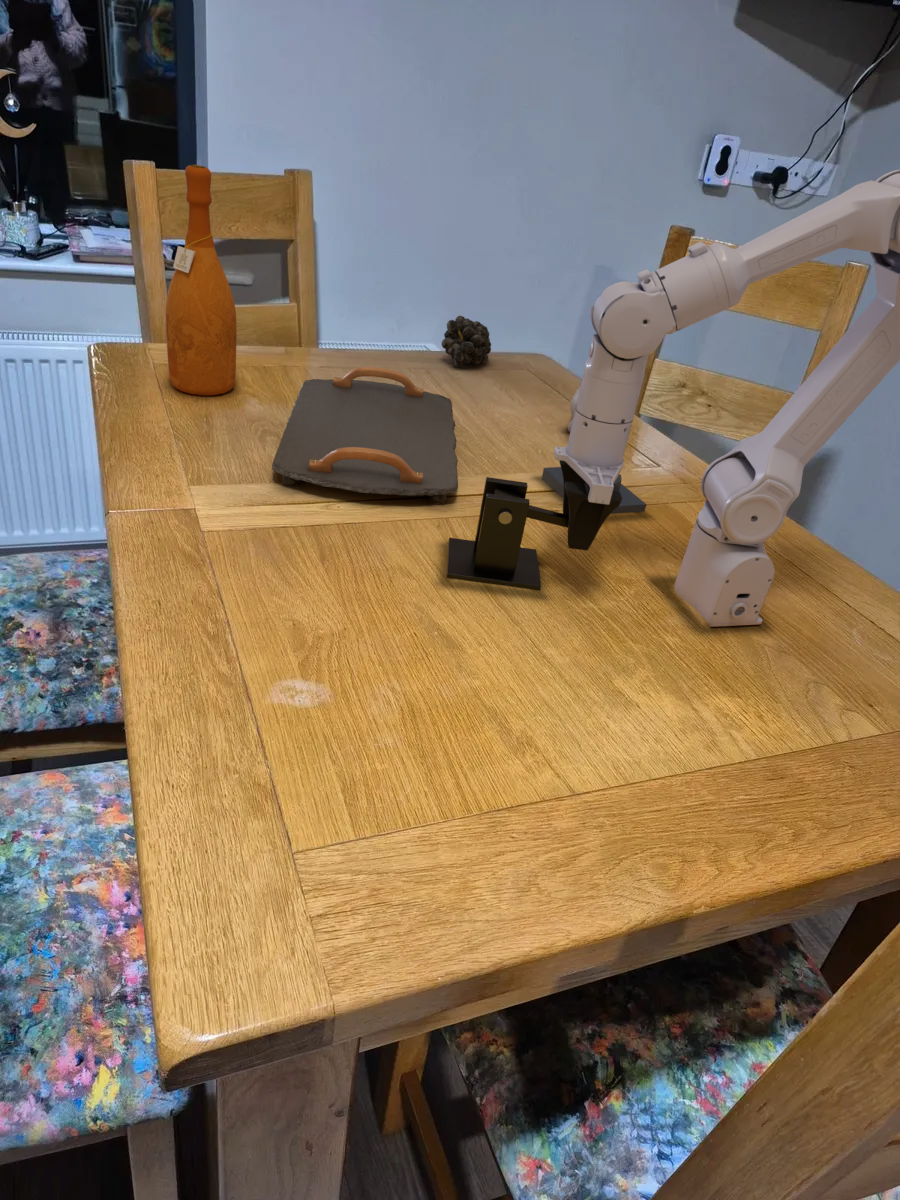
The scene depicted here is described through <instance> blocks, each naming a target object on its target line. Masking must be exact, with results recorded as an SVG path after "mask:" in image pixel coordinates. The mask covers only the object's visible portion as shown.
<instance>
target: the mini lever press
mask: <svg viewBox="0 0 900 1200" xmlns="http://www.w3.org/2000/svg"><path fill="white" fill-rule="evenodd" d="M528 487H529V486H528V482H524V481H517V480H511V479H504V478H503V479H502V478H496V477H489V476H486V478H485V482H484V488H483V494H482V498H481V499H482V500H481V505H480V510H479V516H478V520H477V528H476V533H475V538H474V540H470V539H463V538H456V537H448V543H447V545H448V547H447V559H446V560H447V562H446V563H447V564H446V579H451V580H460V581H464V582H465V581H466V582H473V583H481V584H488V585H496V586H503V587H508V588H509V587H510V588H518V589H524V590H533V591H541V588H542V583H541V576H540V568H539V559H538V551H537V549H535V548H528V547H521V545H522V542H523V536H524V532H525V527H526V522H527V519H528V518H527V513H528V509H529V505H530V504H531V503H530V499H529V498H526V496H527V492H528ZM495 488H498V489H502V490H506V491H509V492H513V493H517V494H520V498H517V497H510V496H503V495H496V494H493V492H494V489H495Z"/></svg>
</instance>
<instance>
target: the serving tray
mask: <svg viewBox="0 0 900 1200" xmlns="http://www.w3.org/2000/svg"><path fill="white" fill-rule="evenodd" d="M360 377H375V378H380V379H381V378H382V379H388V380H391V381H395V382H398V383H400V384H402V385H398V384H393V383H387V382H378V381H373V380H370V381H369V380H358V379H357V378H360ZM455 429H456V421H455V419H454V414H453V401H452V399H451V398H449V397H446V396H444V395H441V394H437V393H432V392H428V391H425V390H424V388H420V387H417V386H416V385H415V384H414V382H412V379H410V378H409V377H408V376H407V375H405V374H404V373H402V372H399V371H397V370H394V369H390V368H385V367H384V368H383V367H376V366H361V367H356V368H353V369H352V370H350V371H349V372H347V373H346V374H345V375H343V376H342V377H333V378H332V379H322V378H312V379H306V380H304V381H303V382H302V385H301V387H300V390H299V391H298V395H297V397H296V399H295V401H294V405H293V407H292V410H291V411H290V416H289V418H288V419H287V422H286V426H285V429H284V430H283V435H282V437H281V439H280V442H279V445H278V447H277V450H276V454H275V455H274V458H273V460H272V464H271V470H272V471H273V472H275V473H277V474H280V475H282V476H281V483H282V485H283V486H285V487H290V488H292V487H297V486H299V485H300V481H302V482H305V483H308V484H309V483H310V484H313V485H316V486H321V487H324V488H325V487H326V488H332V489H338V490H344V491H349V492H354V493H362V494H370V495H386V496H387V495H393V496H407V497H408V496H409V497H410V496H413V497H414V496H416V497H417V496H428V500H429V501H430V502H431V503H433V504H437V505H442V504H444V503H446V501H447V495H448V494H454V493H456V492H458V489H459V479H458V477H459V476H458V463H459V461H458V457H457V455H456V451H455V450H456V447H457V438H456V437H457V436H456V433H455Z"/></svg>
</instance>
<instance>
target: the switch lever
mask: <svg viewBox="0 0 900 1200" xmlns="http://www.w3.org/2000/svg"><path fill="white" fill-rule="evenodd" d="M493 494H496V495H503V496H510V497H517V498H520V494H517V493H513V492H509V491H506V490H502V489H498V488H495V489H494V492H493ZM526 519H532V520H536V521H539V522H543V523H547V524H551V525H555V526H559V527H563V528H566V529H568V523H569V515H566V514H563V512H559V511H554V510H551V509H546V508H544V507H539V506H535V505H530V504H529V509H528V513H527V518H526Z"/></svg>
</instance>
